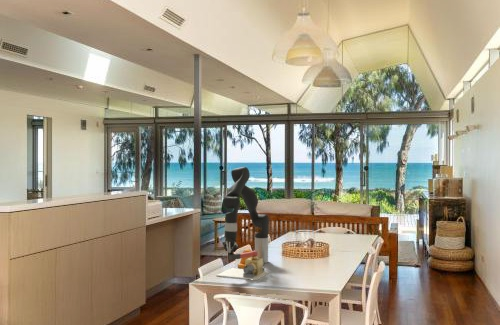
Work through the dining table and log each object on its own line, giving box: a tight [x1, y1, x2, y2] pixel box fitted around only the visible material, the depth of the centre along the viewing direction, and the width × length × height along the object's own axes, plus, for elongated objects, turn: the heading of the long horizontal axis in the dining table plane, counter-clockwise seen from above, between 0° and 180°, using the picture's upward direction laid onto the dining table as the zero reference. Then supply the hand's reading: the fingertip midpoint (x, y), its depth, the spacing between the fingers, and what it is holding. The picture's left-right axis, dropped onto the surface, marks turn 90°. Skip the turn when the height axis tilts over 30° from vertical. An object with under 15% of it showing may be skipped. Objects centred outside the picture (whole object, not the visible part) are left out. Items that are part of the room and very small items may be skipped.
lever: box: [228, 250, 258, 261], centre depth 304 cm, size 22×4×3 cm, turn 135°
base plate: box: [216, 267, 270, 281], centre depth 312 cm, size 22×26×1 cm
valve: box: [243, 256, 265, 278], centre depth 310 cm, size 22×8×11 cm, turn 158°
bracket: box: [237, 248, 252, 269], centre depth 331 cm, size 11×7×12 cm, turn 72°
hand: (230, 258), depth 302 cm, fingers closed
